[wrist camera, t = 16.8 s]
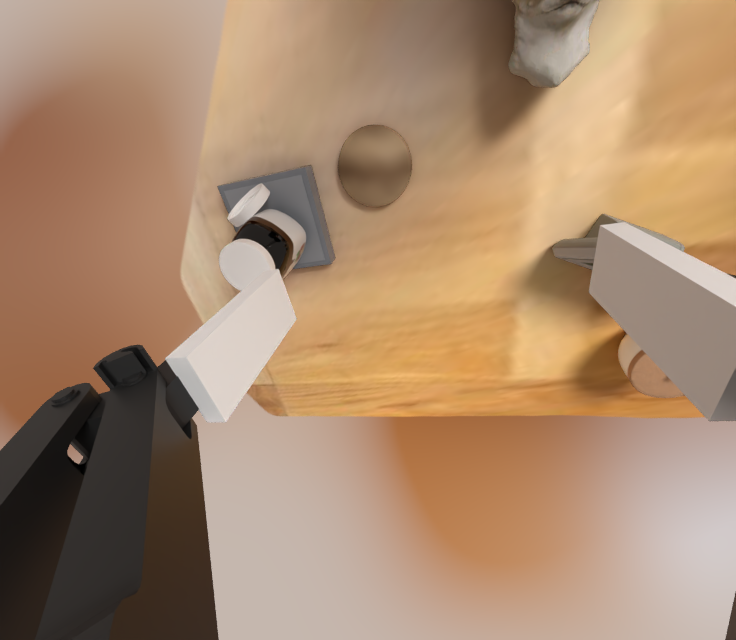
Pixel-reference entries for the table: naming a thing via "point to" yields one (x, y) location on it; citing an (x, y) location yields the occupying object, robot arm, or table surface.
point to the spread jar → (260, 241)
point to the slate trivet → (290, 208)
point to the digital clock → (585, 248)
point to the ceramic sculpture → (550, 39)
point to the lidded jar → (645, 371)
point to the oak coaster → (375, 165)
